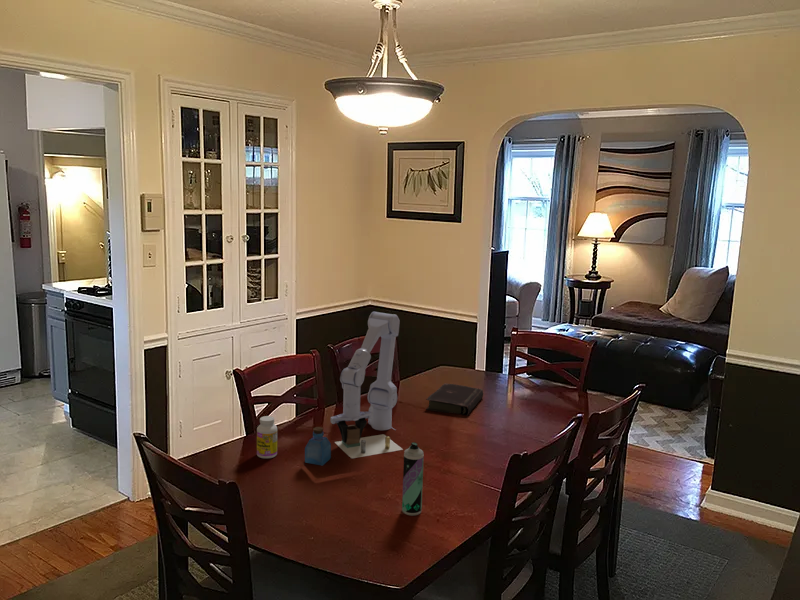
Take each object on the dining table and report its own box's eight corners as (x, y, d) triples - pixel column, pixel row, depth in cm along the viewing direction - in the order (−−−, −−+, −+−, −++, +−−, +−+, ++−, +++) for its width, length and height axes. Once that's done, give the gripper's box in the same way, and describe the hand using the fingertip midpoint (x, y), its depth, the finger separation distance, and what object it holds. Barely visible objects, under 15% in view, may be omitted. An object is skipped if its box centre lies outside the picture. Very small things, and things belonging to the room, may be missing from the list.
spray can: (401, 506, 192) (403, 439, 189) (420, 506, 193) (422, 439, 189) (402, 515, 187) (405, 447, 183) (422, 515, 187) (425, 447, 184)
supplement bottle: (252, 457, 222) (252, 419, 220) (264, 449, 229) (263, 413, 226) (270, 460, 220) (270, 423, 218) (281, 453, 226) (281, 416, 224)
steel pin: (360, 451, 226) (360, 440, 226) (364, 451, 227) (364, 439, 226) (361, 453, 225) (362, 442, 224) (366, 452, 226) (366, 441, 225)
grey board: (334, 445, 234) (334, 442, 234) (383, 437, 243) (383, 434, 243) (351, 461, 221) (351, 458, 221) (403, 452, 230) (403, 449, 229)
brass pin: (384, 447, 230) (384, 436, 230) (388, 447, 231) (388, 436, 230) (386, 449, 229) (386, 438, 228) (390, 448, 230) (390, 437, 229)
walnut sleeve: (341, 442, 233) (342, 426, 232) (354, 440, 236) (354, 424, 235) (347, 447, 229) (347, 431, 228) (360, 445, 231) (360, 429, 230)
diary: (483, 399, 290) (484, 388, 289) (468, 418, 267) (469, 406, 266) (441, 393, 297) (442, 382, 296) (423, 410, 274) (424, 398, 273)
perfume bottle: (330, 461, 221) (331, 426, 219) (322, 469, 215) (322, 433, 213) (313, 458, 223) (313, 424, 221) (304, 466, 217) (305, 430, 215)
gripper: (336, 408, 223) (335, 447, 225) (376, 403, 230) (375, 441, 232) (328, 402, 229) (328, 440, 232) (367, 397, 236) (366, 434, 238)
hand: (351, 440), depth 232 cm, fingers closed on walnut sleeve, 4 cm apart
